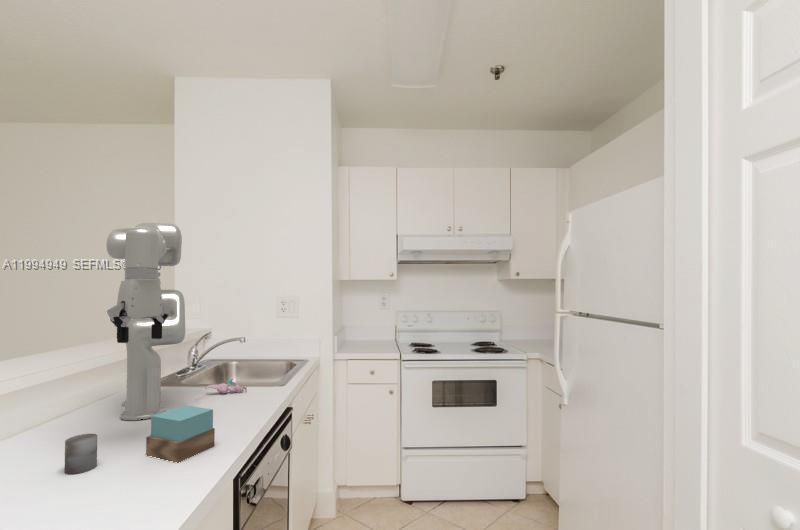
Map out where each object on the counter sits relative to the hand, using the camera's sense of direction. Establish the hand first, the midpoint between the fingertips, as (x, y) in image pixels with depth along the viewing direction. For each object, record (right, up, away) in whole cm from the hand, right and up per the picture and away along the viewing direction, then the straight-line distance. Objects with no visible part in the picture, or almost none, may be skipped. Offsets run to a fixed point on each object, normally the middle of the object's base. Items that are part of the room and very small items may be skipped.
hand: (140, 340), depth 111 cm
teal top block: (+13, -23, -3) cm, 26 cm away
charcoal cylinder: (-6, -27, -13) cm, 31 cm away
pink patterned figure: (+1, -30, +52) cm, 60 cm away
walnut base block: (+13, -28, -3) cm, 31 cm away
